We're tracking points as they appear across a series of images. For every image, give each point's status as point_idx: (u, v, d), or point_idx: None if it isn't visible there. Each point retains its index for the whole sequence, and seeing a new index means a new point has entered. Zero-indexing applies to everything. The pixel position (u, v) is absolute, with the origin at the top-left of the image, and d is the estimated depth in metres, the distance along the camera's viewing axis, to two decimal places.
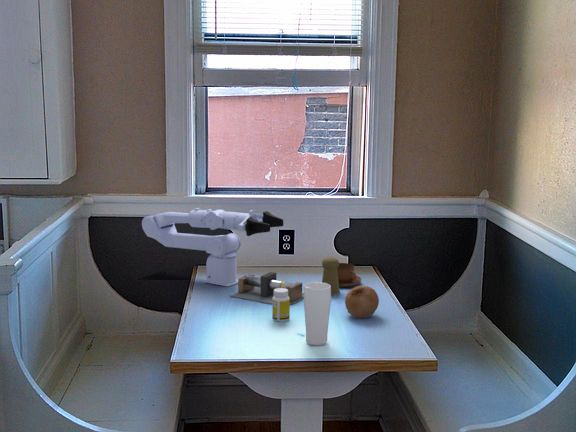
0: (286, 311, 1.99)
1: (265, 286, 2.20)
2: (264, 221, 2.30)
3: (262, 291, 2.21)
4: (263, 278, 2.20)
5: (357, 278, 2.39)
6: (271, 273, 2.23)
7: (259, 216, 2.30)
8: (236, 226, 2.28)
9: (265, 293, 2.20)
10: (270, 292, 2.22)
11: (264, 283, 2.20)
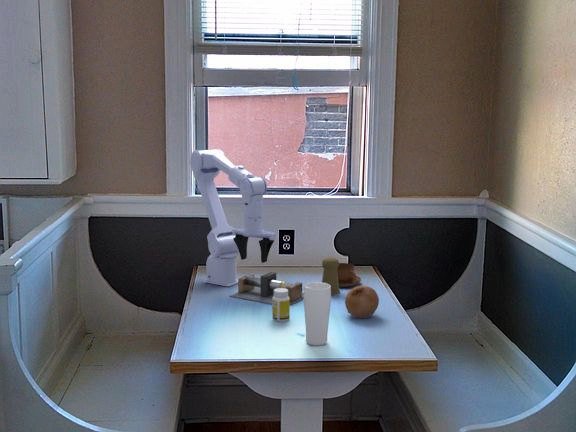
0: (286, 311, 1.99)
1: (265, 286, 2.20)
2: None
3: (262, 291, 2.21)
4: (263, 278, 2.20)
5: (357, 278, 2.39)
6: (271, 273, 2.23)
7: None
8: None
9: (265, 293, 2.20)
10: (270, 292, 2.22)
11: (264, 283, 2.20)
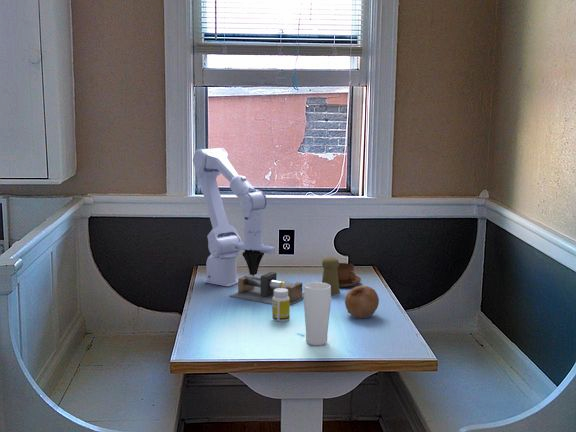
0: (286, 311, 1.99)
1: (265, 286, 2.20)
2: None
3: (262, 291, 2.21)
4: (263, 278, 2.20)
5: (357, 278, 2.39)
6: (271, 273, 2.23)
7: None
8: None
9: (265, 293, 2.20)
10: (270, 292, 2.22)
11: (264, 283, 2.20)
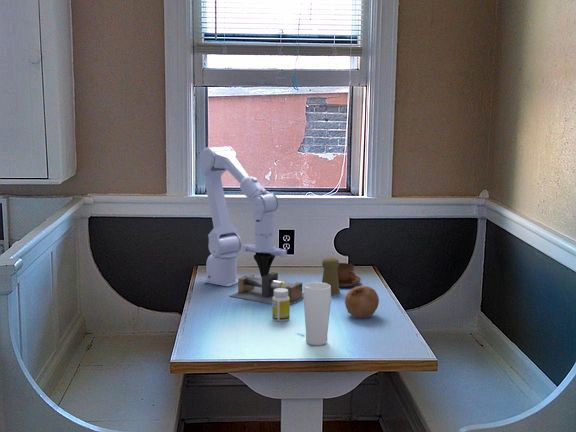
0: (286, 311, 1.99)
1: (266, 286, 2.20)
2: None
3: (263, 291, 2.20)
4: (264, 278, 2.19)
5: (357, 278, 2.39)
6: (272, 273, 2.23)
7: None
8: None
9: (266, 293, 2.20)
10: (271, 292, 2.22)
11: (265, 284, 2.20)
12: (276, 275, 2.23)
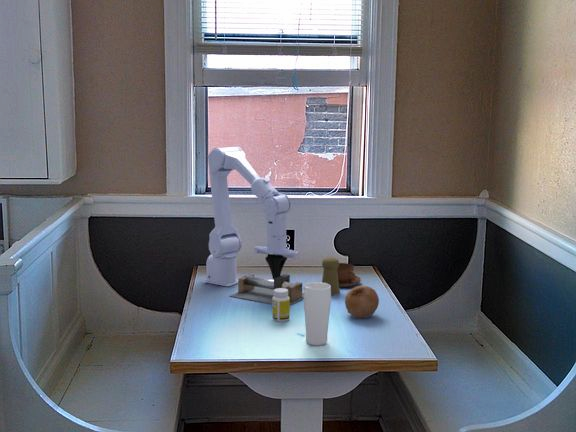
0: (286, 311, 1.99)
1: None
2: None
3: None
4: (276, 280, 2.17)
5: (356, 278, 2.39)
6: (284, 275, 2.21)
7: None
8: None
9: None
10: None
11: (277, 286, 2.17)
12: (288, 277, 2.21)
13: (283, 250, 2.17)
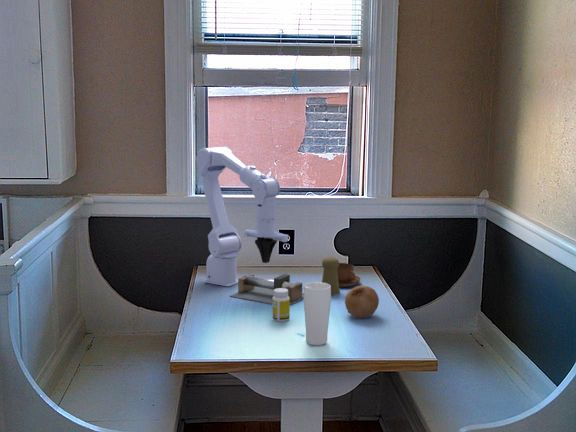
0: (286, 311, 1.99)
1: None
2: None
3: None
4: (276, 280, 2.17)
5: (356, 278, 2.39)
6: (284, 275, 2.21)
7: None
8: None
9: None
10: None
11: (277, 286, 2.17)
12: (288, 277, 2.21)
13: (272, 233, 2.18)
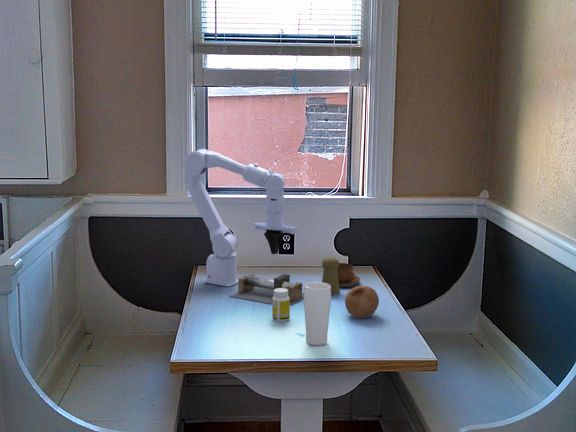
0: (286, 311, 1.99)
1: None
2: None
3: None
4: (276, 280, 2.17)
5: (356, 278, 2.39)
6: (284, 275, 2.21)
7: None
8: None
9: None
10: None
11: (277, 286, 2.17)
12: (288, 277, 2.21)
13: (281, 226, 2.29)
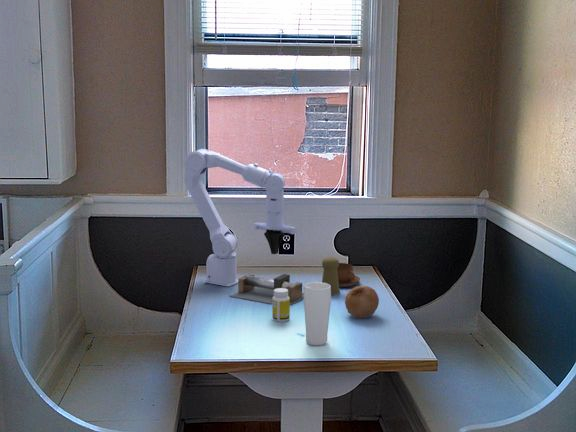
0: (286, 311, 1.99)
1: None
2: None
3: None
4: (276, 280, 2.17)
5: (356, 278, 2.39)
6: (284, 275, 2.21)
7: None
8: None
9: None
10: None
11: (277, 286, 2.17)
12: (288, 277, 2.21)
13: (281, 226, 2.29)
